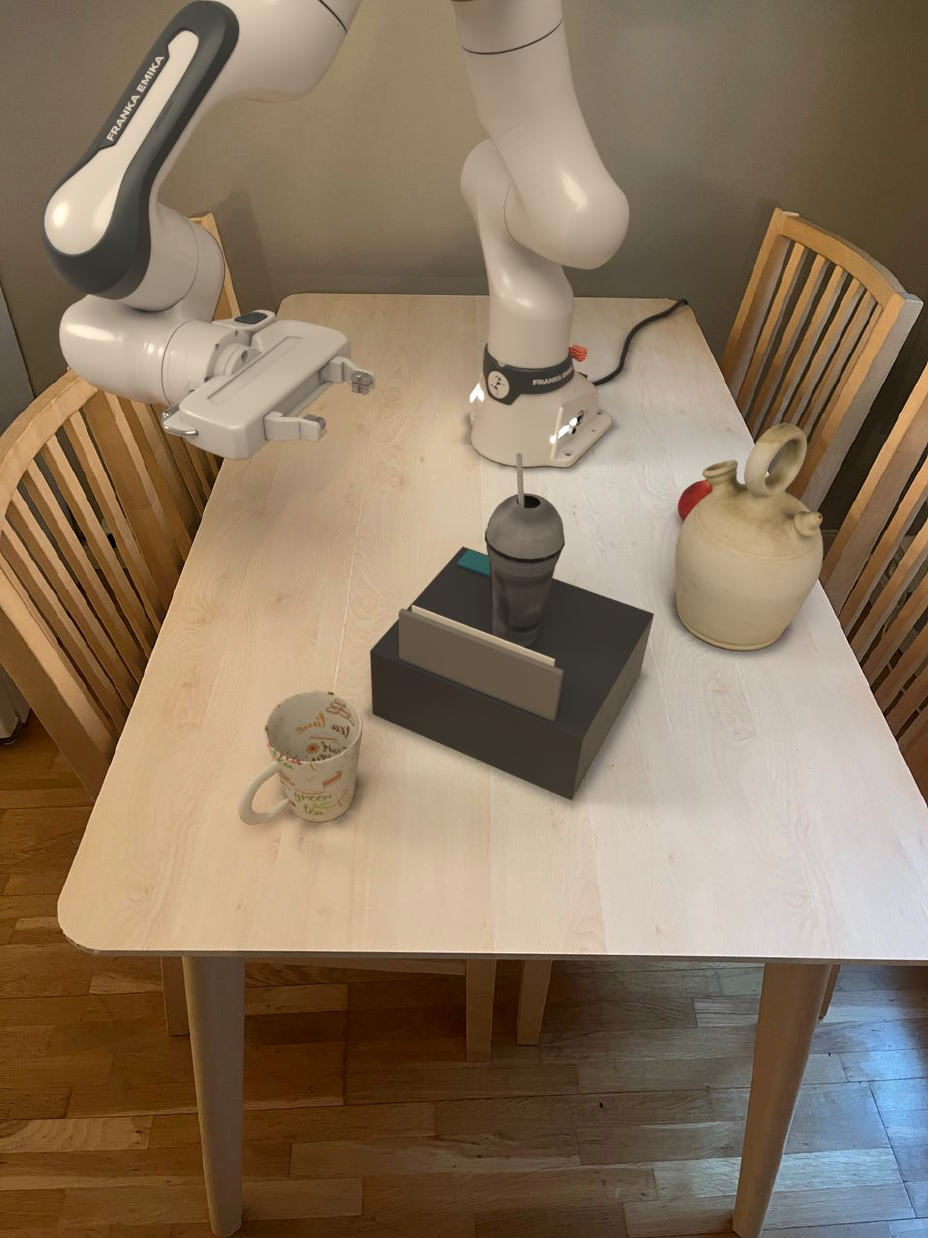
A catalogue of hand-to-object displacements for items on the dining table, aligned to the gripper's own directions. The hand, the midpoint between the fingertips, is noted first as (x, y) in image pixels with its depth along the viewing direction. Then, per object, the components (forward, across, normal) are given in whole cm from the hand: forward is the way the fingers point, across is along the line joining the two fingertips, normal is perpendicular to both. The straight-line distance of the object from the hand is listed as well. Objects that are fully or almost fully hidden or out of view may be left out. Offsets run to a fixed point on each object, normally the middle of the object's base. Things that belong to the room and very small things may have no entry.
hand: (348, 406), depth 83 cm
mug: (+6, -23, +29) cm, 37 cm away
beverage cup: (+18, -1, +20) cm, 27 cm away
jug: (+37, +21, +29) cm, 51 cm away
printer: (+18, -1, +29) cm, 34 cm away
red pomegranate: (+30, +36, +29) cm, 55 cm away
